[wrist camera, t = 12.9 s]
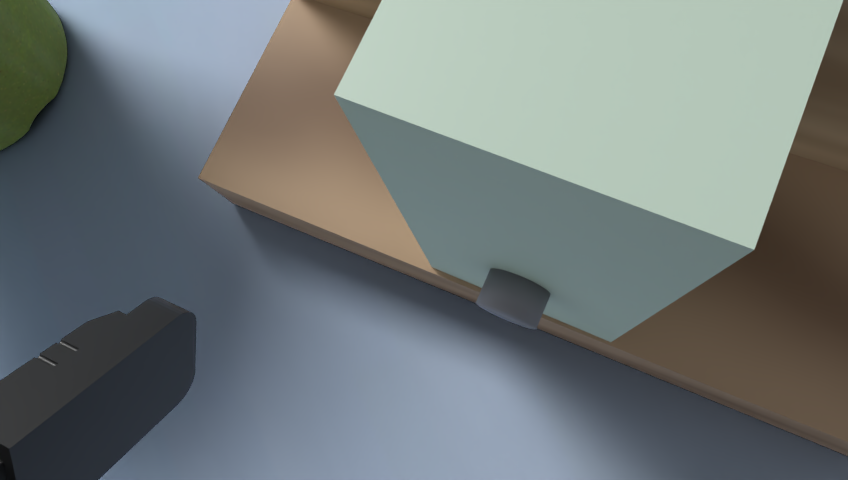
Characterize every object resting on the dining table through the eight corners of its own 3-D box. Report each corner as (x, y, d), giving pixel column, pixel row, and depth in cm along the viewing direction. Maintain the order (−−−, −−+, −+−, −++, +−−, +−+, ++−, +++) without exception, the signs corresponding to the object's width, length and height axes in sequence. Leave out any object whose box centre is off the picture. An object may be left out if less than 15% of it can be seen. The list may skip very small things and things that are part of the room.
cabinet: (599, 372, 16) (729, 320, 7) (419, 294, 17) (304, 153, 8) (690, 136, 17) (913, -198, 8) (517, 77, 18) (523, -280, 9)
